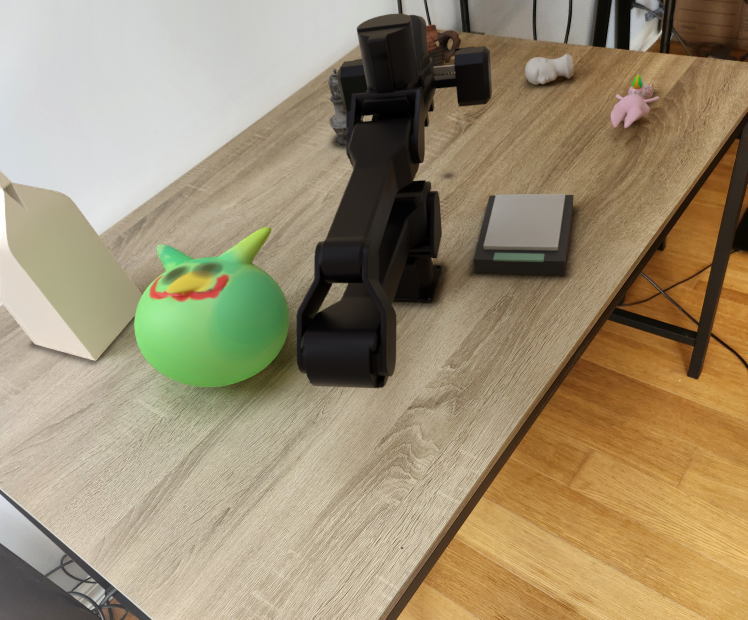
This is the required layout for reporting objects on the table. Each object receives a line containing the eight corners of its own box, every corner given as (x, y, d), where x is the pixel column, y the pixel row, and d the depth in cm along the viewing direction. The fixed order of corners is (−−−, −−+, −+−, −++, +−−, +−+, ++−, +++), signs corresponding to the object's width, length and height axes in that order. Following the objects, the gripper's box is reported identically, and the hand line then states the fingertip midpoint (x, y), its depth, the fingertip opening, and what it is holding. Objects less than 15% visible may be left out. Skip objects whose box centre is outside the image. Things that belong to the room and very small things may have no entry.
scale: (564, 276, 79) (565, 257, 77) (474, 274, 82) (472, 255, 80) (573, 209, 86) (573, 190, 84) (490, 209, 90) (489, 191, 88)
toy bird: (148, 411, 78) (83, 328, 67) (191, 311, 89) (141, 225, 78) (288, 409, 74) (243, 320, 63) (316, 305, 84) (281, 213, 73)
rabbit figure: (621, 99, 103) (596, 137, 94) (626, 60, 99) (600, 95, 90) (663, 102, 100) (641, 141, 91) (670, 61, 96) (648, 97, 87)
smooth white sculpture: (523, 93, 110) (529, 70, 111) (571, 92, 107) (577, 68, 108) (519, 73, 106) (526, 49, 108) (569, 72, 103) (576, 47, 104)
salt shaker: (329, 137, 111) (310, 69, 102) (359, 124, 112) (343, 55, 103) (342, 152, 107) (323, 81, 98) (373, 138, 108) (358, 67, 99)
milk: (147, 301, 92) (40, 135, 73) (95, 361, 86) (-36, 197, 67) (87, 288, 97) (-28, 130, 78) (34, 344, 91) (-105, 187, 72)
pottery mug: (400, 88, 118) (386, 40, 116) (415, 86, 126) (402, 41, 124) (462, 63, 113) (448, 13, 110) (473, 63, 121) (461, 16, 118)
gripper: (479, 24, 67) (493, -21, 78) (311, 44, 72) (345, -1, 83) (485, 127, 75) (497, 73, 85) (333, 139, 80) (362, 87, 91)
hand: (425, 57), depth 86 cm, fingers open, 9 cm apart
